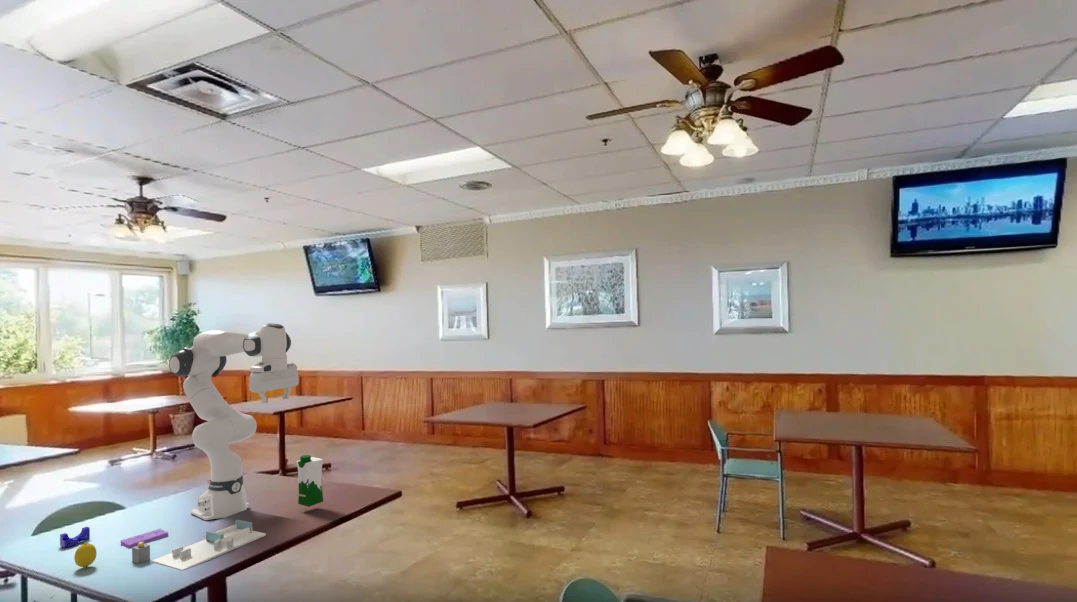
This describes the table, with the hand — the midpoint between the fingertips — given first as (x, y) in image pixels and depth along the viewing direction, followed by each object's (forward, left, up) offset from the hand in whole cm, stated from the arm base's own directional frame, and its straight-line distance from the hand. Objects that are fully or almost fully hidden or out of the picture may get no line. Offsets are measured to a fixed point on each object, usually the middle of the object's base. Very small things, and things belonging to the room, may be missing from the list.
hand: (275, 400), depth 219 cm
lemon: (-23, -54, -46) cm, 74 cm away
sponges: (-29, -33, -47) cm, 64 cm away
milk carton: (-3, +18, -46) cm, 50 cm away
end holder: (-1, -20, -45) cm, 49 cm away
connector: (-11, -44, -46) cm, 64 cm away
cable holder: (-50, -44, -46) cm, 81 cm away
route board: (+1, -28, -46) cm, 54 cm away
